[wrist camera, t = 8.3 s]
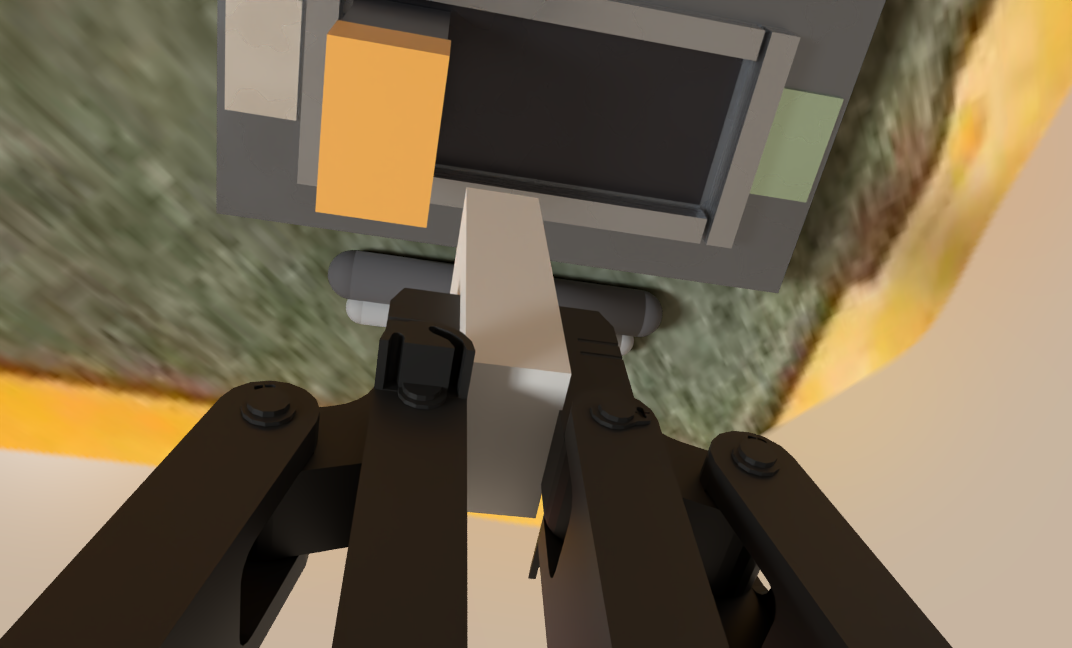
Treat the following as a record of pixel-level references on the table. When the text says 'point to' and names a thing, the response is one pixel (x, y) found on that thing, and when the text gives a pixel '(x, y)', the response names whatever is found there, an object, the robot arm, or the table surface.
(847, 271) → the table surface
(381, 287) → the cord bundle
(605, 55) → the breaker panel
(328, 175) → the breaker lever
